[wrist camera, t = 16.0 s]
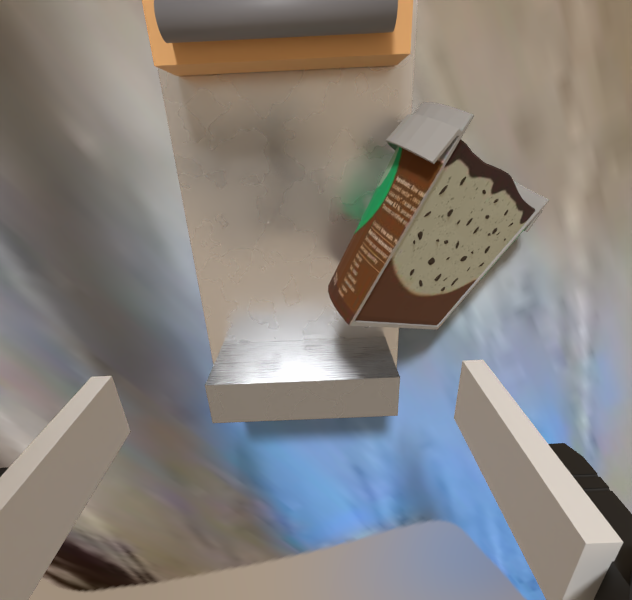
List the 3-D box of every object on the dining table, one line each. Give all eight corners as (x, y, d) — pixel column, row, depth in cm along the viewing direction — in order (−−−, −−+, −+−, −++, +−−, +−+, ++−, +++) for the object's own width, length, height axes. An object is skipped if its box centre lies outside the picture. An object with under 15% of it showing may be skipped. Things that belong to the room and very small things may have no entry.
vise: (219, 369, 29) (197, 423, 24) (131, -111, 18) (49, -224, 12) (393, 362, 29) (412, 414, 23) (420, -126, 17) (469, -247, 12)
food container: (390, 279, 29) (470, 162, 25) (447, 330, 25) (551, 202, 21) (267, 253, 20) (361, 67, 16) (328, 324, 17) (467, 107, 13)
